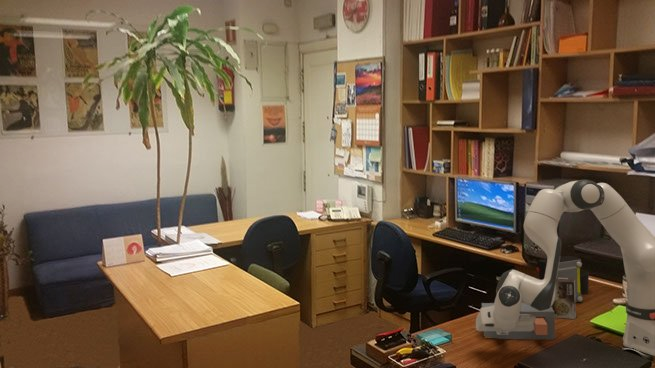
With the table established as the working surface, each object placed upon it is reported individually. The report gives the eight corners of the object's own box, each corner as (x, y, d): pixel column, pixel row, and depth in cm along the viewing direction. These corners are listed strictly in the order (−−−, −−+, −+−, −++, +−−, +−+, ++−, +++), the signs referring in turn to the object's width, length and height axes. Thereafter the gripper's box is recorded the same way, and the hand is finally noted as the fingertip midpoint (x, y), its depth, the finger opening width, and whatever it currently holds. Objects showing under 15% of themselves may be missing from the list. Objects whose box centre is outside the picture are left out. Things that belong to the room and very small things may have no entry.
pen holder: (573, 288, 270) (573, 268, 269) (592, 291, 263) (592, 271, 262) (563, 292, 264) (563, 272, 264) (583, 296, 257) (582, 275, 256)
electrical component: (551, 308, 244) (550, 264, 242) (537, 301, 254) (536, 259, 252) (584, 302, 249) (583, 259, 247) (569, 296, 258) (568, 255, 257)
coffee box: (576, 314, 235) (575, 277, 233) (575, 319, 229) (574, 282, 227) (553, 312, 239) (552, 276, 237) (551, 317, 233) (551, 280, 231)
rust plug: (547, 334, 203) (547, 324, 203) (536, 334, 204) (535, 324, 203) (541, 324, 213) (541, 314, 213) (531, 324, 214) (530, 314, 214)
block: (555, 339, 210) (554, 311, 209) (484, 338, 215) (483, 311, 213) (549, 329, 220) (548, 303, 219) (482, 329, 225) (481, 303, 224)
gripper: (535, 307, 194) (531, 324, 205) (475, 308, 198) (474, 324, 209) (538, 324, 190) (533, 340, 201) (477, 324, 194) (476, 340, 205)
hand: (503, 332), depth 205 cm, fingers closed
